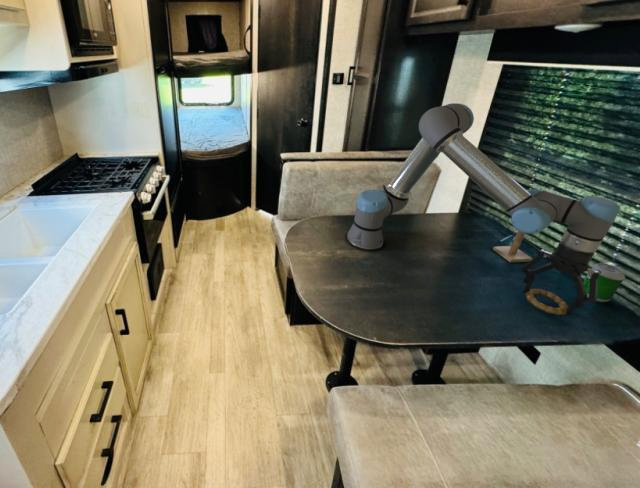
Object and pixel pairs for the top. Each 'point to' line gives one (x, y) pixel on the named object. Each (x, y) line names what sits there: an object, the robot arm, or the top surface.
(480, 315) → the top surface
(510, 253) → the rack
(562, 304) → the ring
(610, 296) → the soda can
